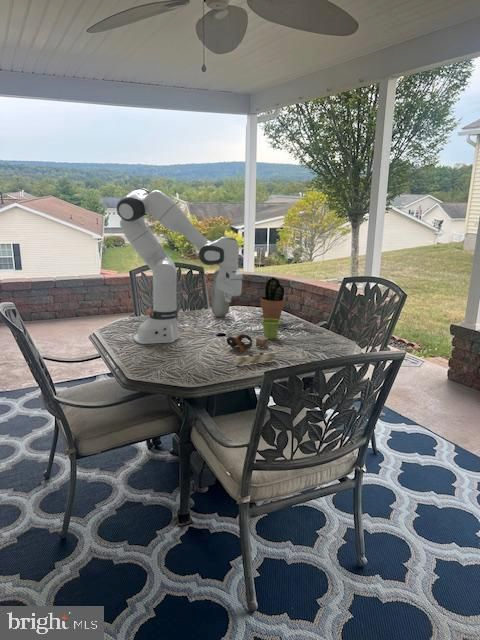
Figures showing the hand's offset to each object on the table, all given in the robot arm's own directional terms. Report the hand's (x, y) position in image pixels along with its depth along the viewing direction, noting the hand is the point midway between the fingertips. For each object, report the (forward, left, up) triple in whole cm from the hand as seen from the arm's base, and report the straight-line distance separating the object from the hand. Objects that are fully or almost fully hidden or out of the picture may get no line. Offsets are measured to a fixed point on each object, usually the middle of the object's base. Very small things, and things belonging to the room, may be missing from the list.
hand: (228, 301), depth 212 cm
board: (0, -29, -21) cm, 36 cm away
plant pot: (+25, +2, -21) cm, 33 cm away
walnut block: (+14, -9, -21) cm, 27 cm away
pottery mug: (+2, -9, -21) cm, 23 cm away
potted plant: (+42, +30, -21) cm, 56 cm away
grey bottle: (+18, +49, -21) cm, 56 cm away
